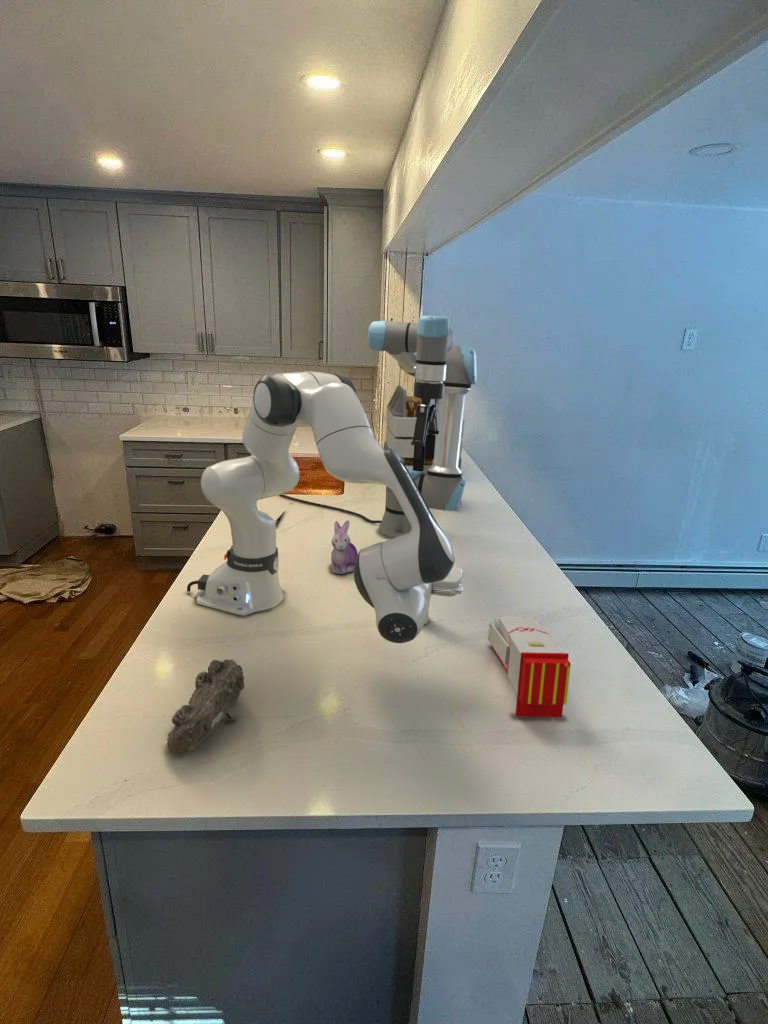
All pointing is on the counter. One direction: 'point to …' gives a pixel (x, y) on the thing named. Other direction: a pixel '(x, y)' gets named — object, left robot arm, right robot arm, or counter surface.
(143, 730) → the counter surface
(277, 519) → the feather
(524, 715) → the toy
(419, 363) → the right robot arm
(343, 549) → the figurine
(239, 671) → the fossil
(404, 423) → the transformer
